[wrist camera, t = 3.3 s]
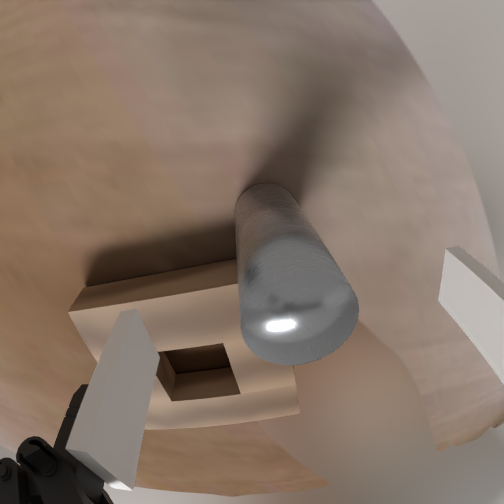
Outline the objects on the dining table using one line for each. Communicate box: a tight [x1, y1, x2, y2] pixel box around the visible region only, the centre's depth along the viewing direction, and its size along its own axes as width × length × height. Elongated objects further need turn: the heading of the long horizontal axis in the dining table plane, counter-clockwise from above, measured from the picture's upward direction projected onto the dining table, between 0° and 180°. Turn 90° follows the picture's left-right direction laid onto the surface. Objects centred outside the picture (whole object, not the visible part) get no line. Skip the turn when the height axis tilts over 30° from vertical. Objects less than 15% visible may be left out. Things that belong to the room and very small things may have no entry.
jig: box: [68, 259, 300, 429], centre depth 25 cm, size 16×16×4 cm
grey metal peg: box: [235, 183, 359, 365], centre depth 16 cm, size 4×4×12 cm
